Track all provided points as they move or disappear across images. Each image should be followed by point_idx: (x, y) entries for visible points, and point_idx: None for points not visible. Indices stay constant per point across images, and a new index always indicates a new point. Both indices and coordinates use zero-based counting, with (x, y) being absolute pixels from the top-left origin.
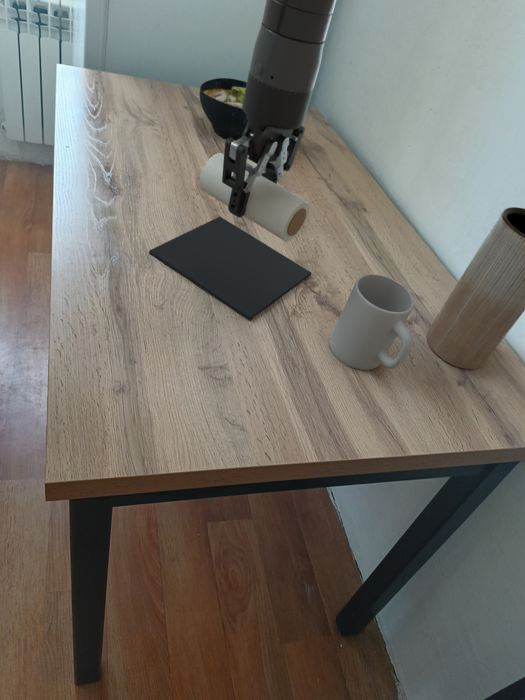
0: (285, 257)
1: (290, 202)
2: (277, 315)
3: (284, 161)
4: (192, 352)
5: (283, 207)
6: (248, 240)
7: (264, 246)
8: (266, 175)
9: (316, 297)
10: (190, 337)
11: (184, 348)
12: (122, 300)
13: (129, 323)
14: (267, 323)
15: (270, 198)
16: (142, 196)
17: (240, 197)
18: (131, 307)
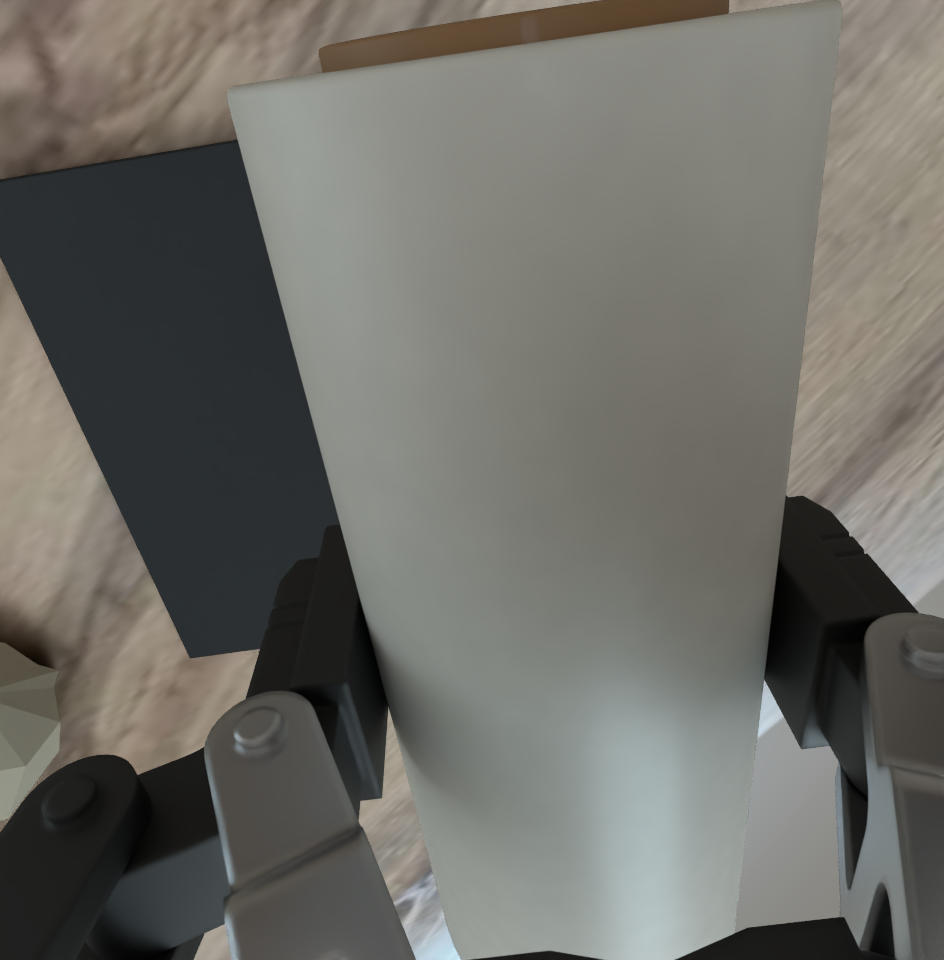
0: (50, 347)
1: (714, 190)
2: (383, 33)
3: (285, 919)
4: (914, 74)
5: (794, 202)
6: (165, 509)
7: (112, 451)
8: (362, 764)
9: (58, 16)
10: (842, 156)
11: (916, 115)
12: (854, 448)
13: (938, 345)
14: (477, 16)
15: (768, 439)
16: (389, 803)
17: (899, 597)
18: (861, 407)
